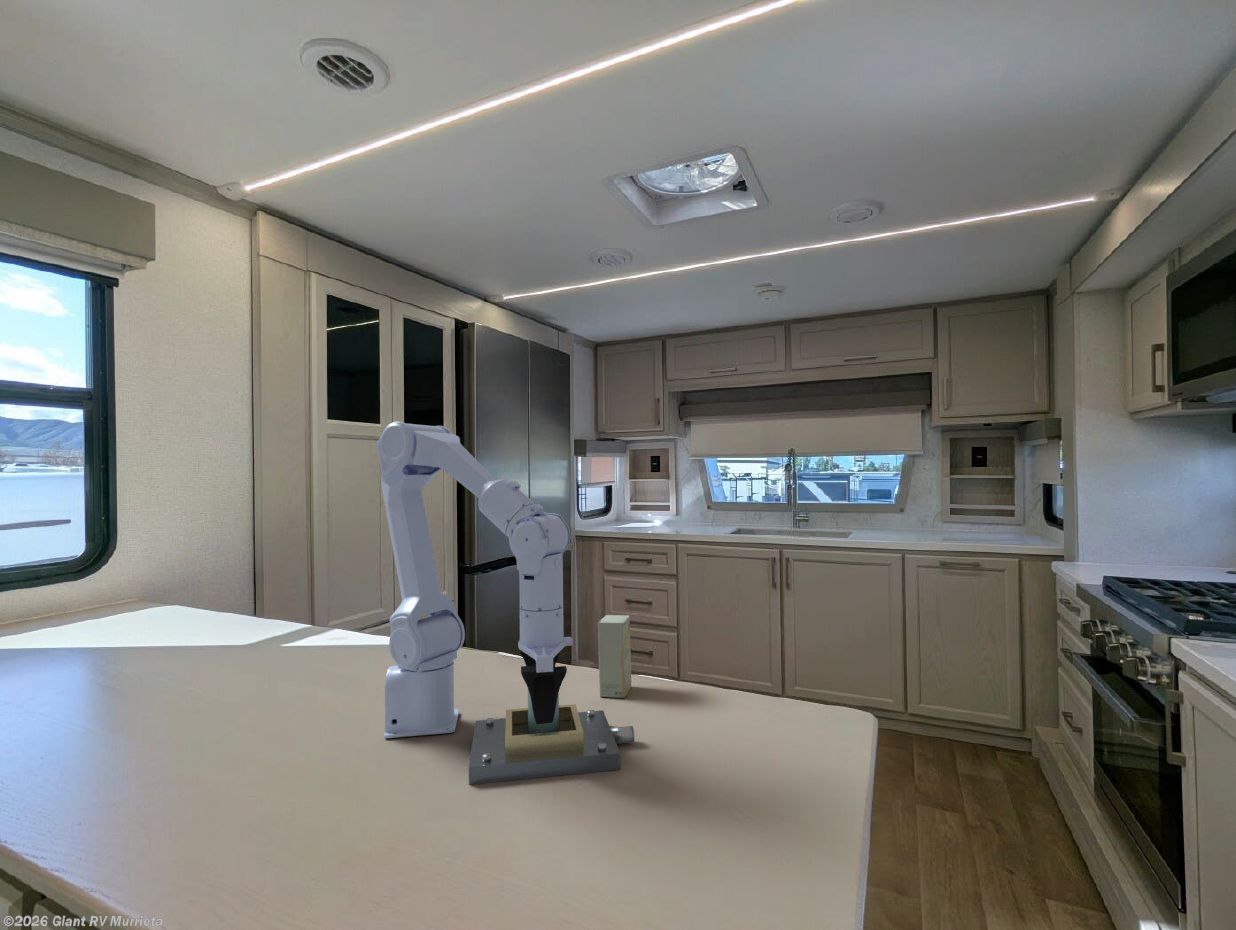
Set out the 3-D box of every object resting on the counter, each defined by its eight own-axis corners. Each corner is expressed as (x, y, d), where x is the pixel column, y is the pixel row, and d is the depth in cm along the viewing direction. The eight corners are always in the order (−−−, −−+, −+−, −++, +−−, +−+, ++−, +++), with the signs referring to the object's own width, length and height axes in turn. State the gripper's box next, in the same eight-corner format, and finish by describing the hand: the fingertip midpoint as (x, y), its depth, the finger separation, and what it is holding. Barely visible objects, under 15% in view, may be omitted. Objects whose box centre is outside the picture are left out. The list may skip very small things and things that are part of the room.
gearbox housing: (468, 784, 71) (468, 749, 71) (475, 735, 85) (475, 706, 85) (644, 767, 75) (643, 734, 75) (623, 722, 88) (623, 694, 88)
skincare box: (625, 699, 98) (623, 623, 98) (598, 697, 99) (597, 622, 99) (631, 685, 104) (630, 614, 104) (606, 684, 105) (605, 613, 105)
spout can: (528, 742, 77) (528, 685, 77) (527, 729, 81) (527, 675, 81) (560, 739, 78) (559, 682, 78) (557, 727, 82) (557, 673, 82)
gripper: (577, 617, 73) (579, 730, 73) (567, 595, 88) (568, 689, 87) (518, 620, 72) (519, 735, 72) (517, 597, 86) (518, 693, 86)
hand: (542, 711), depth 79 cm, fingers open, 7 cm apart
